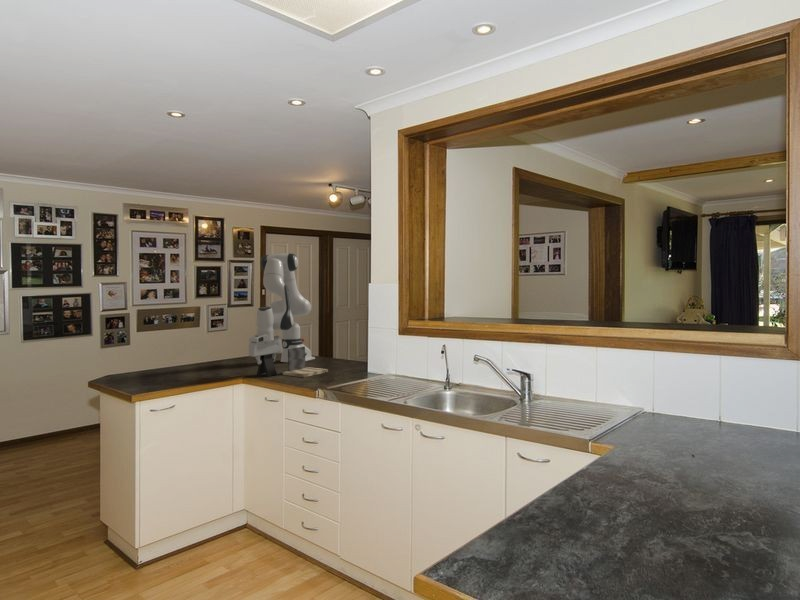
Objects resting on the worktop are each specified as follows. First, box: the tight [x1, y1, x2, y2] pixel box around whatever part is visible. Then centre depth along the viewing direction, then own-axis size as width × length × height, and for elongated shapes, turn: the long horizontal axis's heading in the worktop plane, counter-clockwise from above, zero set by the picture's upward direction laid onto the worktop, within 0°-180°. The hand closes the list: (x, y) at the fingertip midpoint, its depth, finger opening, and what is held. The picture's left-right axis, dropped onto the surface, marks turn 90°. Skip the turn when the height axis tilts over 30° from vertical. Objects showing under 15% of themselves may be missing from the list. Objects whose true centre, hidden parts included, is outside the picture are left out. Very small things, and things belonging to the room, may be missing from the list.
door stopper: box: [256, 354, 278, 377], centre depth 286 cm, size 9×6×12 cm, turn 58°
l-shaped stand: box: [282, 347, 329, 378], centre depth 288 cm, size 18×16×14 cm
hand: (266, 362), depth 286 cm, fingers open, 8 cm apart
